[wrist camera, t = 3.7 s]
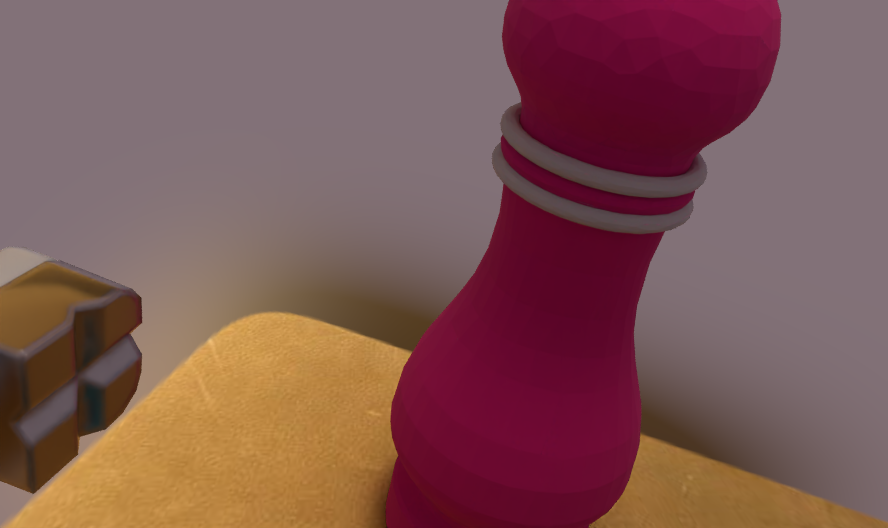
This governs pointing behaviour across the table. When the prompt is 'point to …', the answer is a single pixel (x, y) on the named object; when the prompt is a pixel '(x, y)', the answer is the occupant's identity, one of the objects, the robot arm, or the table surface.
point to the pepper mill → (570, 259)
